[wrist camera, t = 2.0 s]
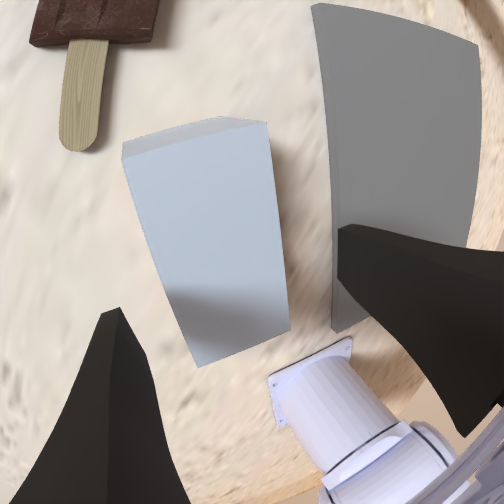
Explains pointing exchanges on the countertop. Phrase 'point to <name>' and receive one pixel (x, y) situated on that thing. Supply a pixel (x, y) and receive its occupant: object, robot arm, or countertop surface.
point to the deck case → (213, 231)
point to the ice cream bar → (88, 53)
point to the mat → (397, 130)
